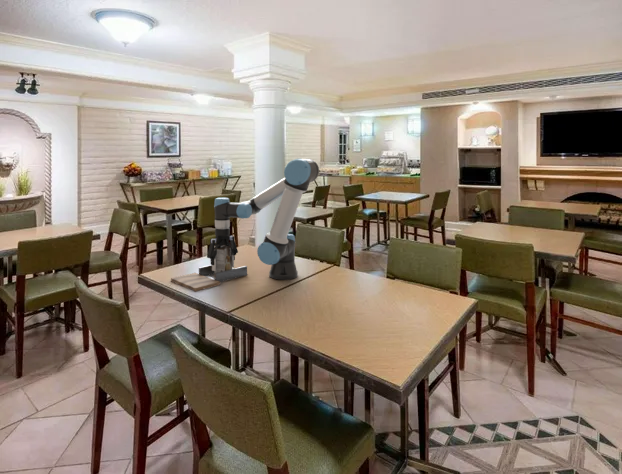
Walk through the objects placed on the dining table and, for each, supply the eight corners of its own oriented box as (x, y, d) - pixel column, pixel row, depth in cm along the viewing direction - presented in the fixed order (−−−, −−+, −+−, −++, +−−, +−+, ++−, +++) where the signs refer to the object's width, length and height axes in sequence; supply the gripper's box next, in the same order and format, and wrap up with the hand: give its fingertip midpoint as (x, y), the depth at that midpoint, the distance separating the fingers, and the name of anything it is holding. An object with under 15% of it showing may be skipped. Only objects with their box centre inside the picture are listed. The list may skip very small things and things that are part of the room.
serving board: (220, 284, 205) (220, 281, 204) (195, 291, 194) (195, 288, 194) (195, 275, 219) (195, 272, 219) (171, 281, 209) (170, 278, 208)
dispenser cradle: (247, 275, 222) (247, 266, 221) (216, 283, 207) (215, 273, 206) (229, 269, 231) (229, 260, 230) (199, 276, 217) (198, 267, 216)
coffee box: (221, 273, 224) (220, 244, 221) (232, 273, 223) (231, 244, 220) (214, 277, 215) (213, 247, 212) (225, 278, 214) (224, 248, 211)
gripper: (235, 224, 225) (236, 263, 229) (198, 229, 208) (200, 271, 212) (244, 226, 220) (244, 265, 224) (207, 231, 203) (208, 274, 207)
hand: (223, 268), depth 218 cm, fingers closed on coffee box, 11 cm apart
